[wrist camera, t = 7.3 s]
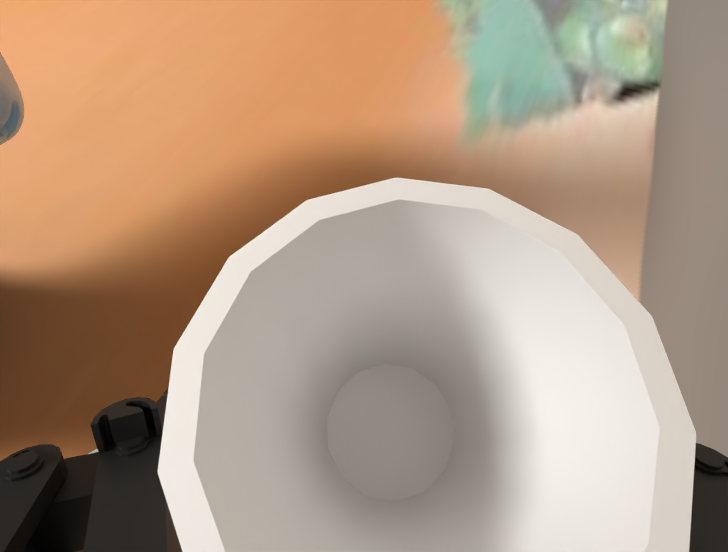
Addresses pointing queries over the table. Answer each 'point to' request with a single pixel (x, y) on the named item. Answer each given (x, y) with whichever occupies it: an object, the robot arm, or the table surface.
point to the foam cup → (423, 389)
